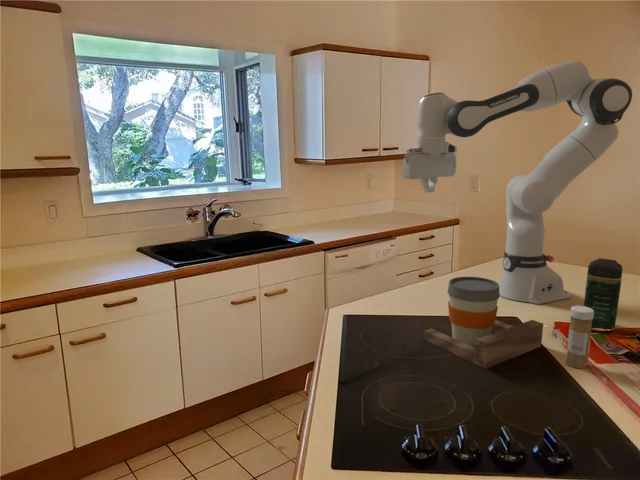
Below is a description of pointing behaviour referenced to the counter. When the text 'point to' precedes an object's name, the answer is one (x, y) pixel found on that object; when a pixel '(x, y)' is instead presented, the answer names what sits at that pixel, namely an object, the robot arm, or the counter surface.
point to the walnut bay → (492, 343)
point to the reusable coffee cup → (472, 307)
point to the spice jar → (579, 336)
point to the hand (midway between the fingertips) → (428, 192)
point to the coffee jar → (603, 291)
